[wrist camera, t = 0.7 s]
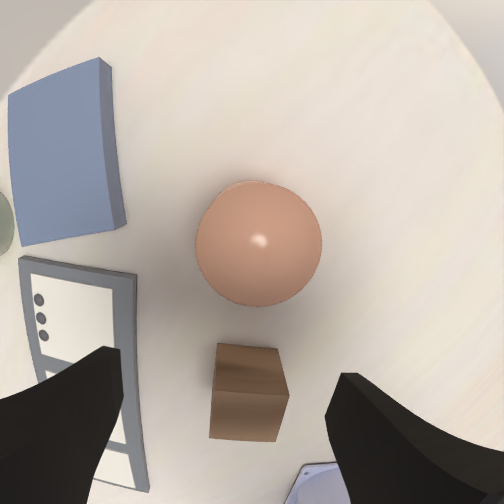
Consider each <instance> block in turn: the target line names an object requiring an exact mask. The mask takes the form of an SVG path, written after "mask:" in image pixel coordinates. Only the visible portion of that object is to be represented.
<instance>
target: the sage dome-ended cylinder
mask: <svg viewBox="0 0 504 504" xmlns="http://www.w3.org/2000/svg"><path fill="white" fill-rule="evenodd" d="M13 236H14V217H13V212H12V209H11V206H10V204H9V202H8V200H7V198H6V197H5V196H4V195H3V194H2V193H1V192H0V255H2V254H4V253H5V252H6V251H7V250H8V249H9V247H10V245H11V243H12V240H13Z"/></svg>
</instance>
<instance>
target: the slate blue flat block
mask: <svg viewBox="0 0 504 504" xmlns="http://www.w3.org/2000/svg"><path fill="white" fill-rule="evenodd" d="M8 148H9V164H10V175H11V185H12V193H13V201H14V208H15V214H16V220H17V226H18V231H19V236H20V241H21V246H22V247H24V246H29V245H34V244H39V243H44V242H49V241H55V240H60V239H65V238H71V237H76V236H82V235H87V234H93V233H99V232H105V231H111V230H115V229H117V228H119V227H121V226H123V225H125V224H127V223H126V217H125V210H124V204H123V197H122V190H121V183H120V176H119V167H118V159H117V149H116V139H115V127H114V113H113V95H112V67H111V66H109V65H108V64H107V63H106V62H105V61H103V60H102V59H101V58H100V57H98V58H95V59H92V60H89V61H86V62H83V63H80V64H78V65H75V66H72V67H69V68H67V69H64V70H62V71H59V72H57V73H54V74H52V75H49V76H47V77H45V78H43V79H40V80H38V81H36V82H34V83H31V84H29V85H27V86H25V87H23V88H21V89H19V90H17V91H15V92H13V93H11V94H9V95H8Z"/></svg>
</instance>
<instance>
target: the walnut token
mask: <svg viewBox="0 0 504 504" xmlns="http://www.w3.org/2000/svg"><path fill="white" fill-rule="evenodd" d="M289 396H290V395H289V392H288V388H287V384H286V380H285V376H284V372H283V368H282V364H281V360H280V357H279V353H278V349H273V348H261V347H250V346H240V345H230V344H221V343H218V344H217V353H216V361H215V370H214V379H213V388H212V401H211V416H210V433H209V438H214V439H225V440H238V441H257V442H276V438H277V435H278V432H279V429H280V426H281V423H282V419H283V416H284V413H285V409H286V406H287V403H288V399H289Z"/></svg>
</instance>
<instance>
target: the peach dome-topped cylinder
mask: <svg viewBox="0 0 504 504" xmlns="http://www.w3.org/2000/svg"><path fill="white" fill-rule="evenodd" d="M195 248H196V257H197V261H198V265H199V267H200V270H201V272H202V274H203V276H204V278H205V279H206V281H207V282H208V283H209V285H210V286H211V287H212V288H213V289H214V290H215V291H216V292H218V293H219V294H220V295H221V296H223V297H225V298H226V299H228V300H230V301H232V302H235V303H238V304H241V305H245V306H253V307H262V306H270V305H274V304H277V303H280V302H283V301H285V300H287V299H289V298H291V297H292V296H294V295H295V294H297V293H298V292H299V291H300V290H302V289H303V288H304V286H305V285H306V284H307V283H308V282H309V281H310V279H311V278H312V276H313V274H314V273H315V271H316V269H317V266H318V264H319V260H320V256H321V250H322V238H321V231H320V227H319V224H318V221H317V219H316V217H315V215H314V213H313V212H312V210H311V209H310V207H309V206H308V205H307V204H306V203H305V202H304V201H303V200H302V199H301V198H300V197H299V196H297V195H296V194H295V193H293V192H291V191H290V190H288V189H286V188H283V187H280V186H277V185H273V184H269V183H264V182H260V181H252V180H251V181H242V182H238V183H235V184H233V185H231V186H229V187H227V188H226V189H224V190H223V191H222V192H221V193H220V194H219V195H218V196H217V197H216V198H215V200H214V201H213V203H212V204H211V205H210V207H209V208H208V210H207V211H206V213H205V214H204V216H203V218H202V220H201V222H200V225H199V228H198V231H197V236H196V247H195Z"/></svg>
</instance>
